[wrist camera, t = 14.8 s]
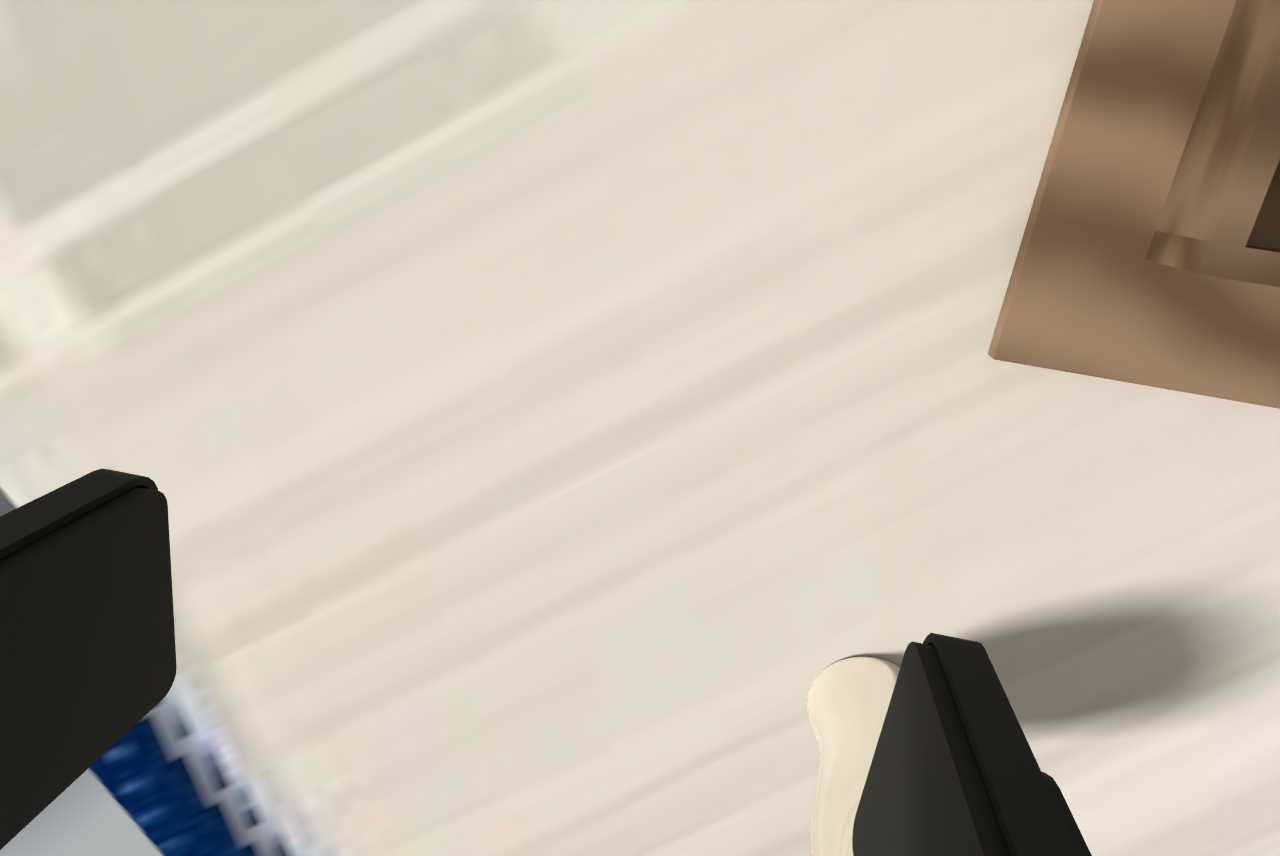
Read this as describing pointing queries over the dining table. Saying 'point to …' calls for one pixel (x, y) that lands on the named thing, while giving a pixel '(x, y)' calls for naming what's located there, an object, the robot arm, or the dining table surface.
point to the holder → (1160, 206)
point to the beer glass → (845, 744)
